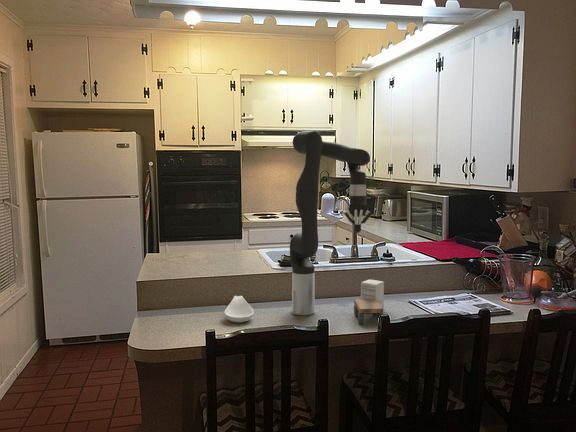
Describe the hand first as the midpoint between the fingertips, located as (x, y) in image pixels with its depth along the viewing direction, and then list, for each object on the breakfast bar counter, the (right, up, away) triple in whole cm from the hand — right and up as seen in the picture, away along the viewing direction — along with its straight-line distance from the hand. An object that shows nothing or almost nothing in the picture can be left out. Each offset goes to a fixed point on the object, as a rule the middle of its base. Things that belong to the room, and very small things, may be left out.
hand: (357, 232), depth 225 cm
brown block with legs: (0, -34, -28) cm, 44 cm away
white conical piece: (-52, -34, -22) cm, 66 cm away
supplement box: (+4, -33, -16) cm, 37 cm away
